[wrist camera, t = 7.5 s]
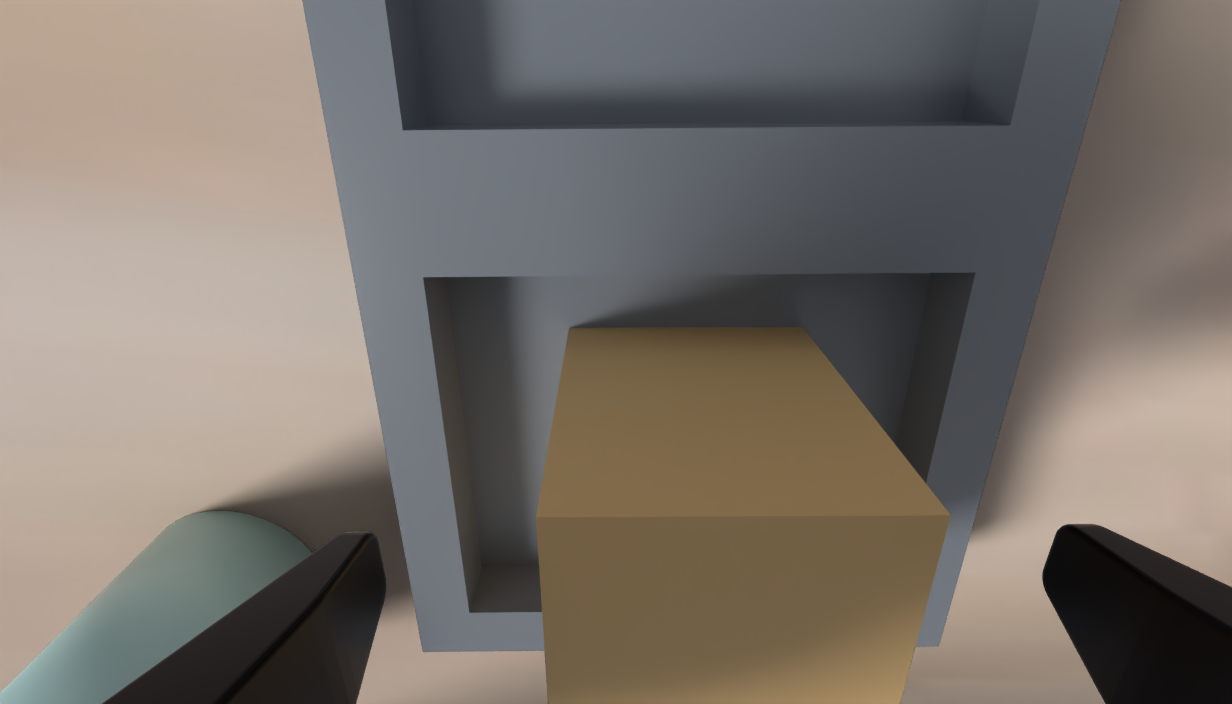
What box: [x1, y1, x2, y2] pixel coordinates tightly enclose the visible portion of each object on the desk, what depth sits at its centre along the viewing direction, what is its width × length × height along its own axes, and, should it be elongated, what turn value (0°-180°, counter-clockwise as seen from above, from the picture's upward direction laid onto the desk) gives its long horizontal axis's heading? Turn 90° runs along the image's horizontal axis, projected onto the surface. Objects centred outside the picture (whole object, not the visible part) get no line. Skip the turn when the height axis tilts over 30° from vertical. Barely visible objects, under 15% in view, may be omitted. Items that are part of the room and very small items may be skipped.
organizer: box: [302, 0, 1121, 652], centre depth 10 cm, size 17×10×2 cm, turn 0°
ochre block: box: [536, 327, 951, 704], centre depth 9 cm, size 4×4×5 cm
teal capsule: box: [0, 511, 312, 704], centre depth 12 cm, size 4×4×5 cm
